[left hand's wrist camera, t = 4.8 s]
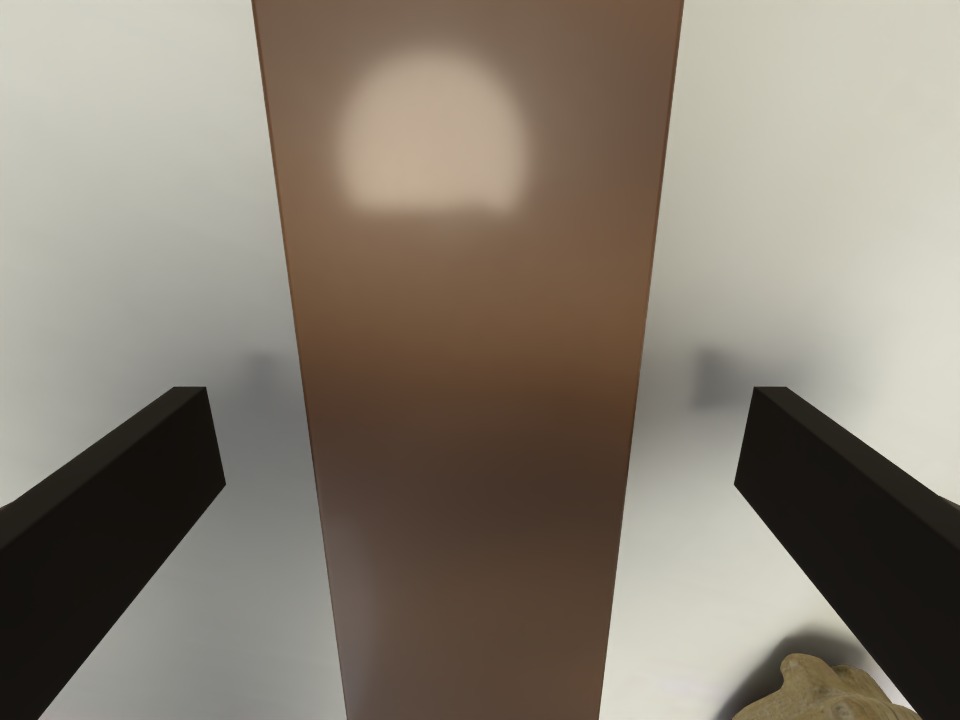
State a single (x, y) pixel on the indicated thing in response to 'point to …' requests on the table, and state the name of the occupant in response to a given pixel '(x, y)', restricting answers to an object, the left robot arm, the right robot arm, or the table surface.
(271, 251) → the table surface
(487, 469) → the post
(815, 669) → the sculpture
